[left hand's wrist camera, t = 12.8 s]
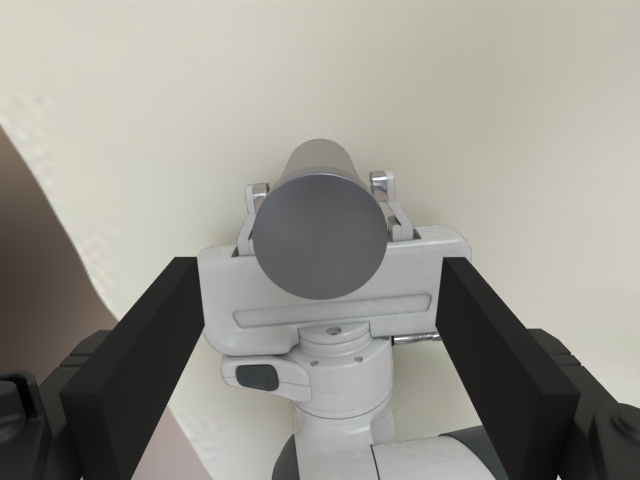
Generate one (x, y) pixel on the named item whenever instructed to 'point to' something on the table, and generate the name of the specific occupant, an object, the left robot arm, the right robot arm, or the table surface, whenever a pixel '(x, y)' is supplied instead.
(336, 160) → the jar
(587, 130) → the table surface
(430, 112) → the table surface
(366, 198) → the lid
